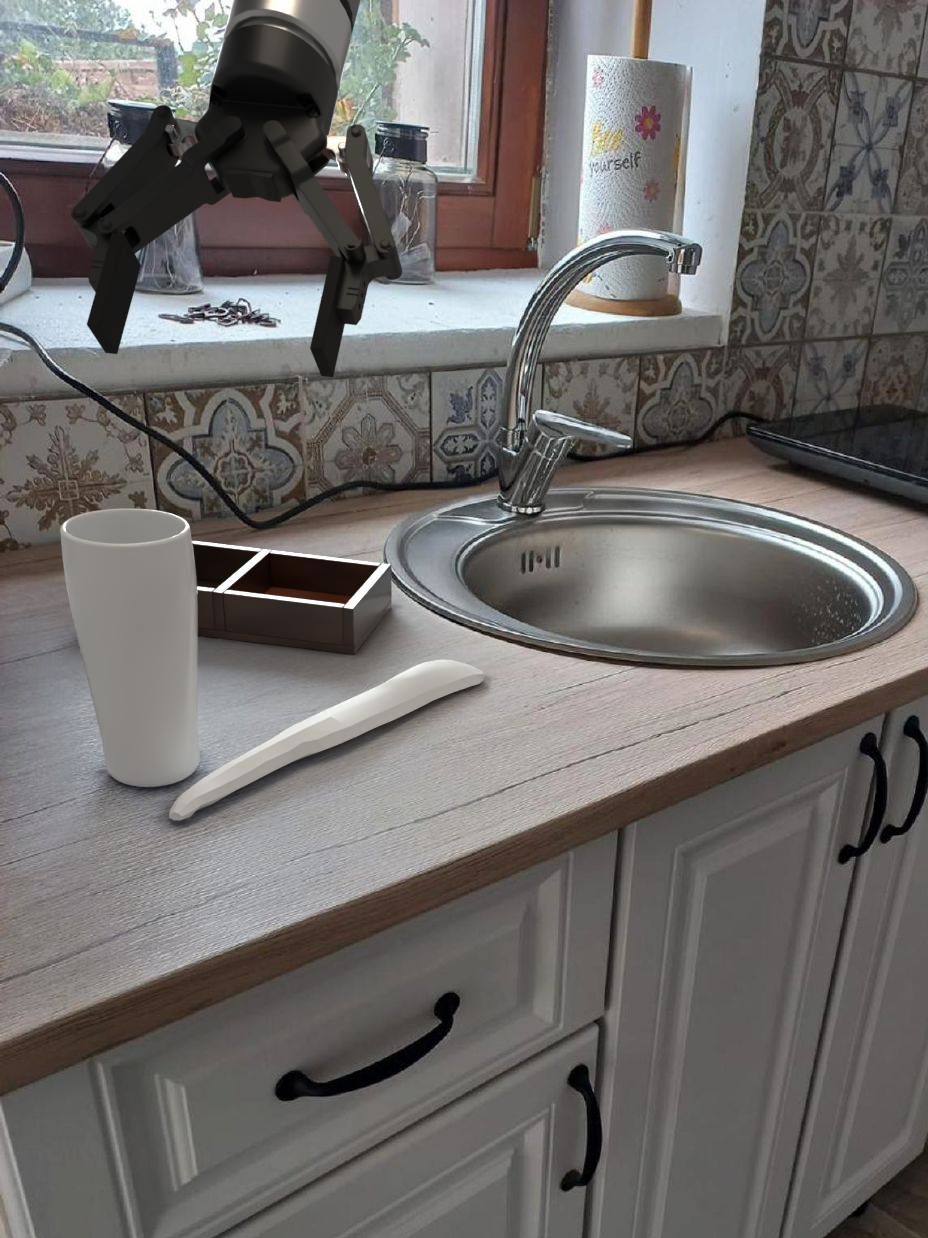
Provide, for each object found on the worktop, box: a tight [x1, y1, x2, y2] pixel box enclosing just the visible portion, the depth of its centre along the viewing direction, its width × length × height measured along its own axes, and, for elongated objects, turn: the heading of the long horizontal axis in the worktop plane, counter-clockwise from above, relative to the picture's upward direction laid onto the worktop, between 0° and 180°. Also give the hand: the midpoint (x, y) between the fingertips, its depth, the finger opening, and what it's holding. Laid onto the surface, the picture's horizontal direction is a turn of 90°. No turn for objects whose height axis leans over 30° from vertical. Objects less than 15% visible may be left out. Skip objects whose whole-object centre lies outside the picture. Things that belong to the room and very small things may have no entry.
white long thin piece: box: [168, 658, 485, 821], centre depth 80 cm, size 28×4×2 cm, turn 149°
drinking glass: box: [59, 508, 201, 788], centre depth 71 cm, size 7×7×15 cm
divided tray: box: [192, 540, 393, 655], centre depth 96 cm, size 20×11×4 cm, turn 84°
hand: (211, 351), depth 75 cm, fingers open, 13 cm apart
